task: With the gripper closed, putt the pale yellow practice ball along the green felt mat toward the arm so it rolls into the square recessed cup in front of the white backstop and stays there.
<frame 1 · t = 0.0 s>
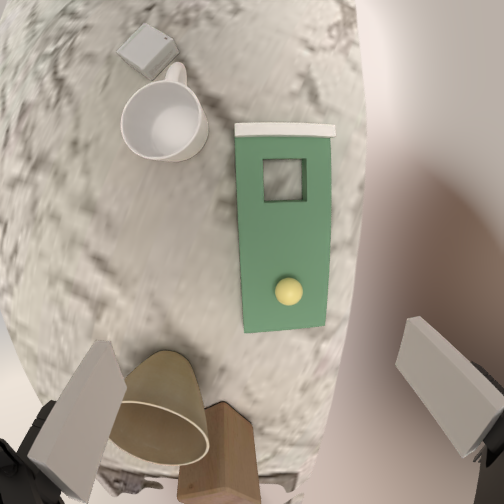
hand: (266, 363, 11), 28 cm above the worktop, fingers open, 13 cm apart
small box: (152, 58, 30), on the worktop
plant pot: (169, 366, 44), on the worktop
wooden block: (219, 420, 48), on the worktop
ball: (288, 291, 36), point 4 cm above the worktop, touching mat
mug: (180, 118, 33), on the worktop
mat: (282, 231, 38), on the worktop
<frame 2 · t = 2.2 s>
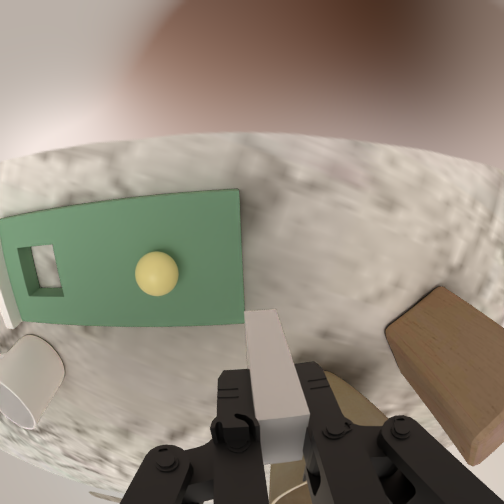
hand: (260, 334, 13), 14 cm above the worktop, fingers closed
plant pot: (311, 391, 33), on the worktop
wooden block: (419, 329, 32), on the worktop
ball: (156, 273, 22), point 4 cm above the worktop, touching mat
mug: (33, 354, 28), on the worktop
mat: (102, 261, 25), on the worktop
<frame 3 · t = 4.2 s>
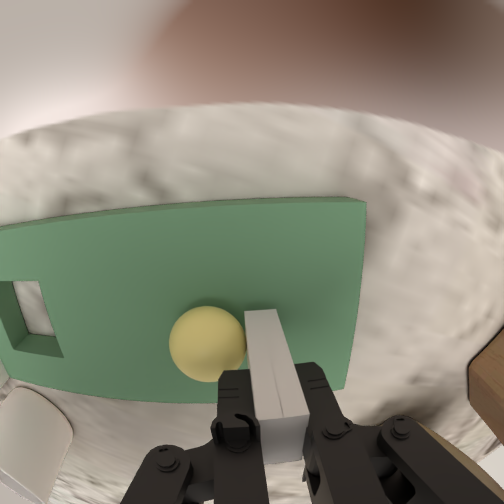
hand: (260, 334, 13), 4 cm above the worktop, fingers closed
plant pot: (382, 437, 23), on the worktop
wooden block: (493, 358, 22), on the worktop
ball: (207, 344, 12), point 4 cm above the worktop, tilted 30°, touching gripper, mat
mug: (30, 406, 19), on the worktop
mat: (120, 305, 16), on the worktop
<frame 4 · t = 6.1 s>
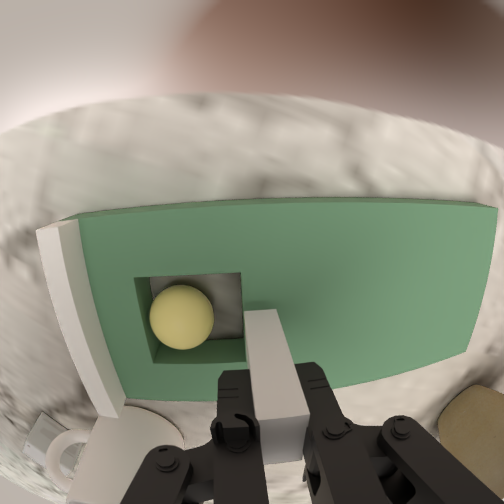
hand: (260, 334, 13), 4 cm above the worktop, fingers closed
small box: (59, 432, 21), on the worktop
plant pot: (457, 406, 24), on the worktop
ball: (181, 317, 15), point 2 cm above the worktop, tilted 78°
mug: (122, 425, 20), on the worktop
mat: (310, 295, 17), on the worktop
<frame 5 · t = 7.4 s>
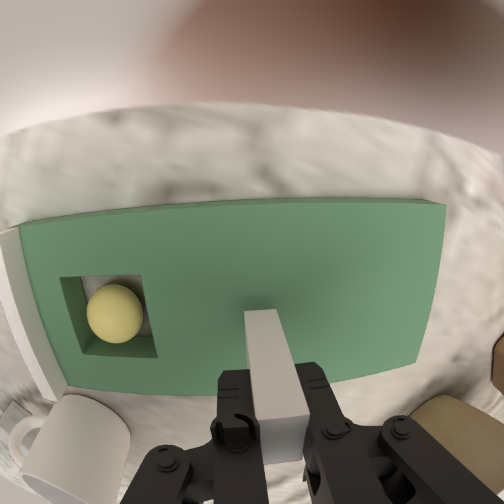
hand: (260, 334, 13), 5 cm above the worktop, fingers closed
small box: (29, 420, 21), on the worktop
plant pot: (424, 416, 25), on the worktop
ball: (114, 313, 15), point 2 cm above the worktop, tilted 48°
mug: (78, 414, 20), on the worktop
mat: (224, 298, 18), on the worktop
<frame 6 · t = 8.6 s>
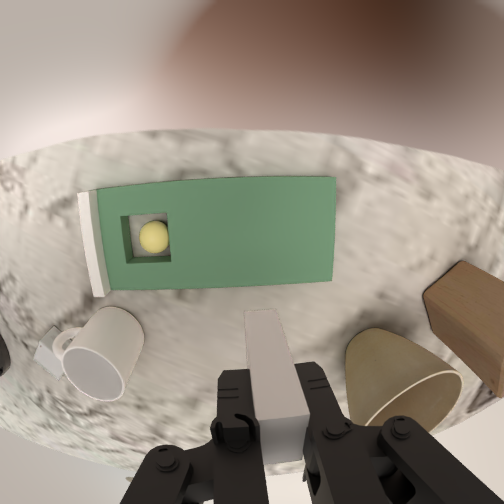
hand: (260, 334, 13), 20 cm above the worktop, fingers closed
small box: (62, 344, 36), on the worktop
plant pot: (365, 347, 39), on the worktop
wooden block: (446, 296, 38), on the worktop
ball: (154, 237, 30), point 2 cm above the worktop, tilted 27°
mug: (107, 327, 35), on the worktop
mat: (209, 230, 32), on the worktop
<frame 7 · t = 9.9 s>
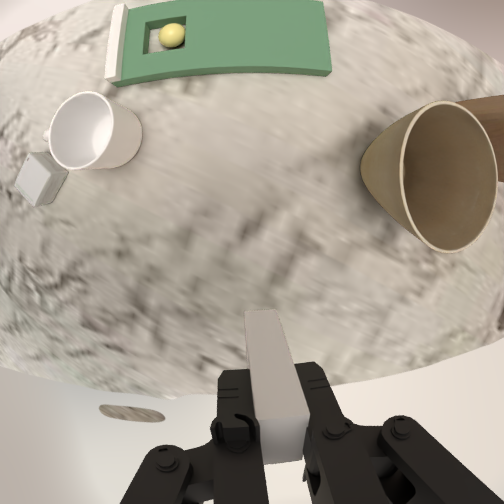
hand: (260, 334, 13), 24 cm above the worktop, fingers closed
small box: (50, 177, 32), on the worktop
plant pot: (381, 170, 36), on the worktop
wooden block: (451, 137, 35), on the worktop
ball: (172, 35, 27), point 2 cm above the worktop, tilted 28°
mug: (104, 137, 32), on the worktop
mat: (219, 36, 29), on the worktop
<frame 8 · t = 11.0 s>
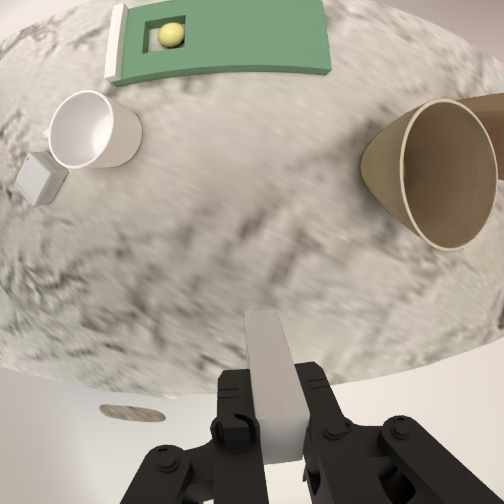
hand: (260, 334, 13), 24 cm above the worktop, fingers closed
small box: (50, 176, 32), on the worktop
plant pot: (381, 169, 36), on the worktop
wooden block: (451, 135, 35), on the worktop
ball: (171, 34, 27), point 2 cm above the worktop, tilted 29°
mug: (104, 137, 32), on the worktop
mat: (219, 35, 29), on the worktop
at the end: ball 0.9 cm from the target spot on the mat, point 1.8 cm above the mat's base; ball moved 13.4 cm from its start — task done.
